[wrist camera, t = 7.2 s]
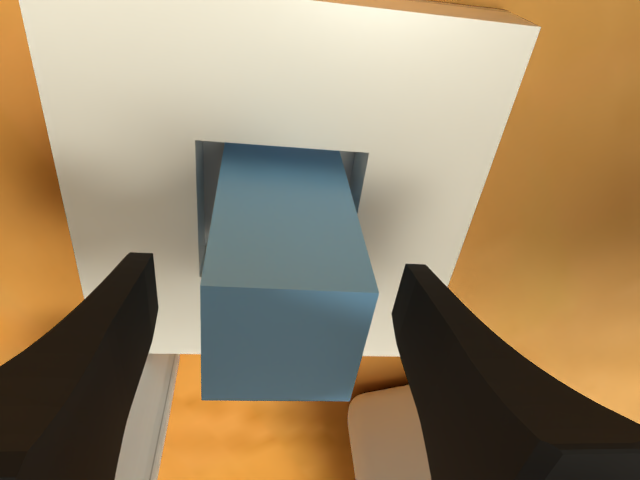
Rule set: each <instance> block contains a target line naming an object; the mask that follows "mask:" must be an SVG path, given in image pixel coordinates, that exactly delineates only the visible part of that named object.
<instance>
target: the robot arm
mask: <svg viewBox="0 0 640 480" xmlns="http://www.w3.org/2000/svg"><path fill="white" fill-rule="evenodd" d="M158 308H159V307H158V297H157V287H156V277H155V268H154V258H153V253H137V252H130V253H128V254H127V255H126V256H125V257H124V258H123V259H122V261H121V262H120V263H119V264H118V265H117V266H116V267H115V268H114V269H113V270H112V272H111V273H110V274H109V275H108V276H107V277H106V278H105V279H104V280H103V281H102V282H101V283H100V284H99V285H98V286H97V287H96V288H95V289H94V290H93V291H92V292H91V293H90V294H89V295H88V296H87V297H86V298H85V299H84V300H83V301H82V302H81V303H80V304H79V305H78V306H77V307H76V308H75V309H74V310H73V311H71V312H70V313H69V314H68V315H67V316H66V317H65V318H64V319H63V320H61V321H60V322H59V323H58V324H57V325H56V326H55V327H53V328H52V329H51V330H50V331H49V332H47V333H46V334H45V335H44V336H42V337H41V338H40V339H39V340H37V341H36V342H35V343H33V344H32V345H31V346H29V347H28V348H27V349H25V350H24V351H23V352H21V353H20V354H18V355H17V356H15V357H14V358H12V359H11V360H9V361H8V362H6V363H5V364H3V365H2V366H0V480H115V475H116V470H117V464H118V459H119V455H120V450H121V445H122V441H123V436H124V431H125V427H126V423H127V419H128V416H129V412H130V409H131V406H132V403H133V400H134V397H135V393H136V390H137V387H138V384H139V381H140V378H141V375H142V372H143V369H144V366H145V363H146V359H147V356H148V353H149V350H150V347H151V344H152V340H153V335H154V330H155V325H156V320H157V314H158ZM391 315H392V321H393V328H394V334H395V339H396V344H397V348H398V351H399V354H400V358H401V361H402V364H403V367H404V371H405V374H406V377H407V380H408V383H409V386H410V390H411V393H412V396H413V399H414V402H415V405H416V409H417V412H418V416H419V420H420V423H421V428H422V433H423V438H424V443H425V448H426V453H427V458H428V464H429V469H430V475H431V480H640V424H638V423H636V422H634V421H632V420H630V419H628V418H626V417H624V416H622V415H620V414H618V413H616V412H614V411H612V410H610V409H608V408H606V407H604V406H602V405H600V404H598V403H596V402H594V401H592V400H591V399H589V398H587V397H585V396H584V395H582V394H580V393H578V392H577V391H575V390H573V389H572V388H570V387H568V386H567V385H565V384H563V383H562V382H560V381H558V380H557V379H555V378H554V377H552V376H551V375H549V374H548V373H546V372H545V371H543V370H542V369H540V368H539V367H537V366H536V365H535V364H533V363H532V362H530V361H529V360H528V359H526V358H525V357H524V356H522V355H521V354H520V353H518V352H517V351H516V350H514V349H513V348H512V347H511V346H509V345H508V344H507V343H506V342H504V341H503V340H502V339H501V338H500V337H498V336H497V335H496V334H495V333H494V332H493V331H492V330H490V329H489V328H488V327H487V326H486V325H485V324H484V323H483V322H482V321H480V320H479V319H478V318H477V317H476V316H475V315H474V314H473V313H472V312H471V311H470V310H469V309H468V308H467V307H466V306H465V305H464V304H463V303H462V302H461V301H460V300H459V299H458V298H457V297H456V296H455V295H454V294H453V293H452V292H451V291H450V290H449V288H448V287H447V286H446V285H445V284H444V283H443V282H442V281H441V280H440V279H439V278H438V277H437V276H436V275H435V274H434V273H433V272H432V271H431V269H430V268H429V267H428V266H427V265H425V264H405V267H404V271H403V274H402V278H401V282H400V285H399V289H398V292H397V296H396V299H395V303H394V306H393V310H392V313H391Z"/></svg>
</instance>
